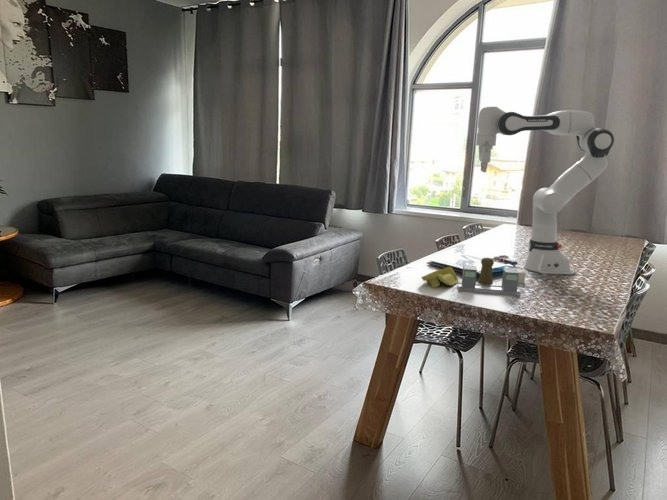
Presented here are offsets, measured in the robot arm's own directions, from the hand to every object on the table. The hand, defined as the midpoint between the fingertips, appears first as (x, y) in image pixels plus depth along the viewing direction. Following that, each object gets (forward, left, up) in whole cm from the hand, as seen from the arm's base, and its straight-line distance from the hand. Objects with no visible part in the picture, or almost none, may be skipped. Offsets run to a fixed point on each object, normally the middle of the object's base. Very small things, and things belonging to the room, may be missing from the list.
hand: (483, 171), depth 234 cm
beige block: (-16, +25, -46) cm, 55 cm away
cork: (-2, +31, -46) cm, 56 cm away
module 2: (-10, +44, -44) cm, 63 cm away
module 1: (+6, +44, -45) cm, 63 cm away
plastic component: (+18, +39, -46) cm, 63 cm away
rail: (-2, +44, -46) cm, 64 cm away
